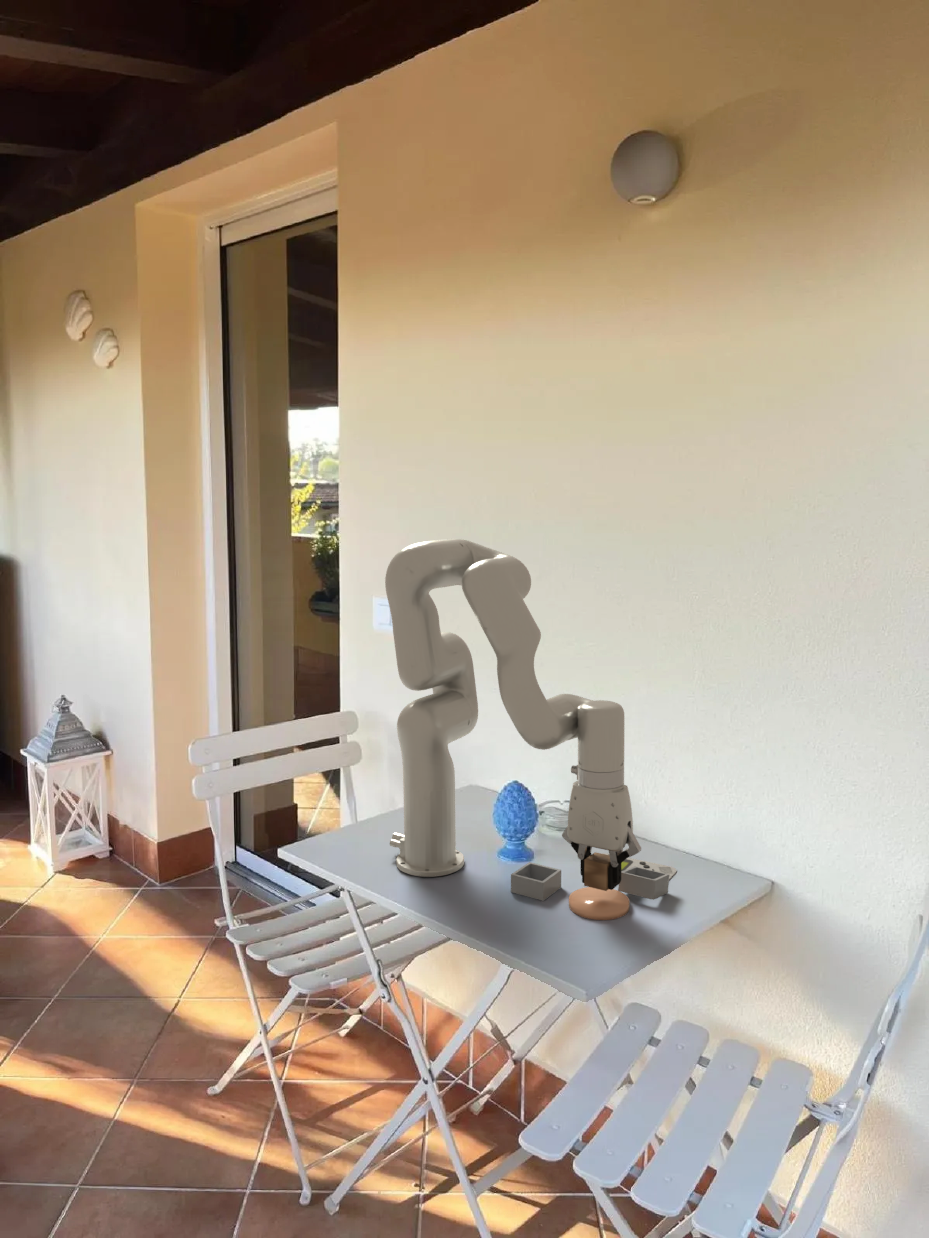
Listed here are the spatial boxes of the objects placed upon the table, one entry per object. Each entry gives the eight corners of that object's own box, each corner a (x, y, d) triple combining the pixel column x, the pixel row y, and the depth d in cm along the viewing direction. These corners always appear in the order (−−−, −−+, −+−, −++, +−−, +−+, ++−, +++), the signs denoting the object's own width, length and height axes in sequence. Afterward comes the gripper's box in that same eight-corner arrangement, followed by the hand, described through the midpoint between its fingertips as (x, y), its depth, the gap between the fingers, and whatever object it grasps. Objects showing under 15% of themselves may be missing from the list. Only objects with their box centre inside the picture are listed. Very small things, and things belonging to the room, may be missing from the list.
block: (584, 885, 156) (584, 859, 155) (594, 877, 159) (595, 852, 158) (606, 890, 153) (606, 864, 153) (616, 883, 157) (617, 856, 156)
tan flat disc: (558, 910, 156) (558, 903, 155) (585, 888, 164) (585, 882, 164) (613, 925, 150) (613, 918, 150) (639, 902, 158) (639, 895, 158)
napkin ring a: (618, 890, 160) (619, 871, 160) (633, 884, 165) (634, 866, 165) (653, 899, 156) (655, 880, 156) (667, 892, 162) (669, 874, 162)
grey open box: (510, 891, 163) (510, 874, 162) (529, 878, 168) (529, 861, 167) (543, 900, 159) (543, 882, 159) (561, 887, 164) (561, 869, 164)
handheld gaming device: (663, 884, 164) (583, 867, 172) (663, 888, 164) (583, 871, 172) (679, 867, 172) (602, 851, 179) (679, 870, 172) (602, 855, 179)
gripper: (544, 775, 155) (545, 880, 158) (639, 791, 146) (638, 903, 148) (566, 763, 161) (566, 865, 164) (658, 778, 152) (657, 886, 155)
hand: (600, 882), depth 156 cm, fingers closed on block, 4 cm apart
